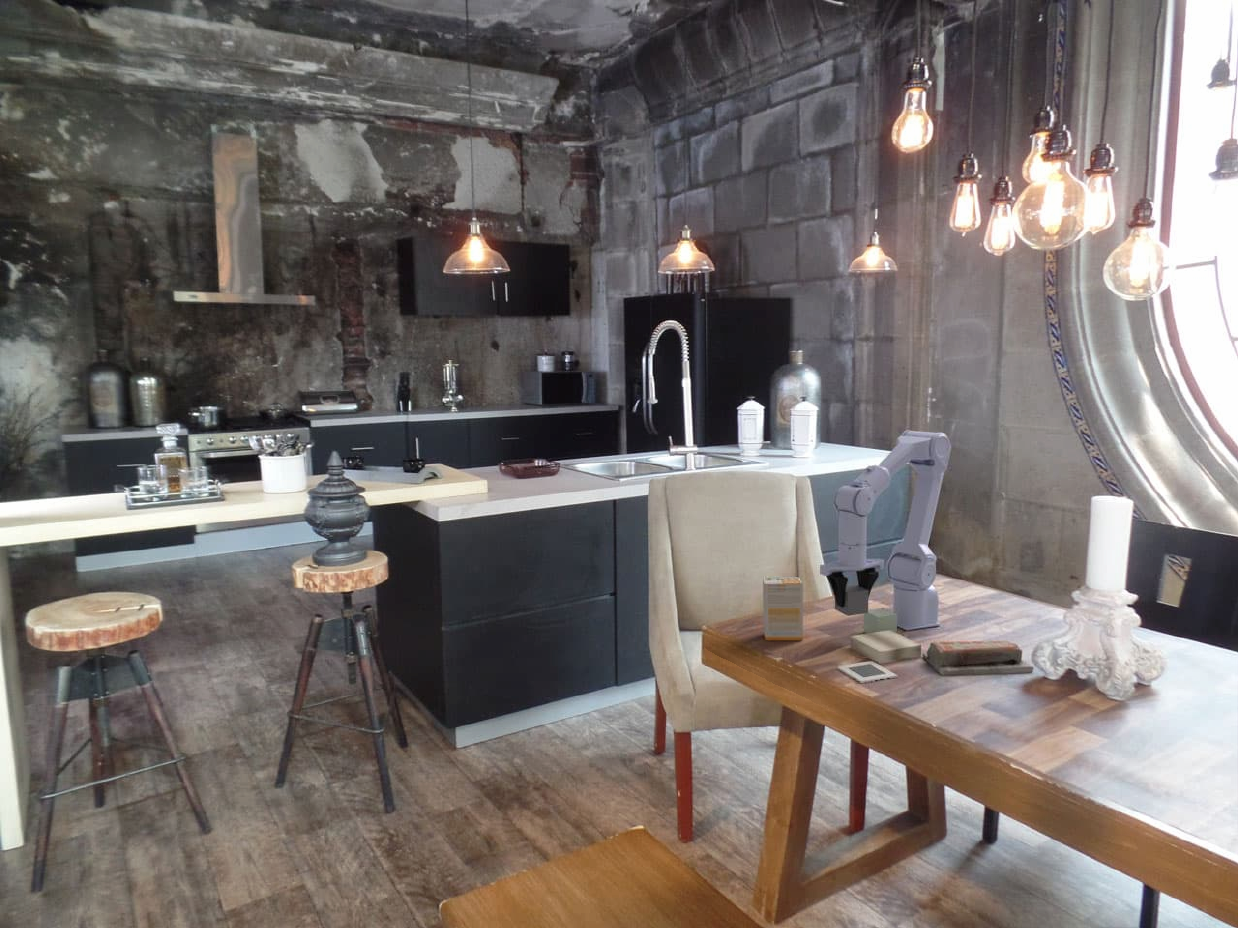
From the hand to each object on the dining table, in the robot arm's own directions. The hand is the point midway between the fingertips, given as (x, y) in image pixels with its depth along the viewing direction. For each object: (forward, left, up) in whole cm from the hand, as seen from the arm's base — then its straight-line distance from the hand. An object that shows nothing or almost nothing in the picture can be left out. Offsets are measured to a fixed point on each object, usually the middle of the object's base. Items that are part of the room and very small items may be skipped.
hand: (851, 604), depth 179 cm
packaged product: (-15, +20, -9) cm, 27 cm away
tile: (+7, +16, -8) cm, 19 cm away
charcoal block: (0, 0, -2) cm, 2 cm away
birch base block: (-3, +8, -9) cm, 12 cm away
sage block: (-9, -2, -8) cm, 13 cm away
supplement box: (+12, -8, -9) cm, 17 cm away
